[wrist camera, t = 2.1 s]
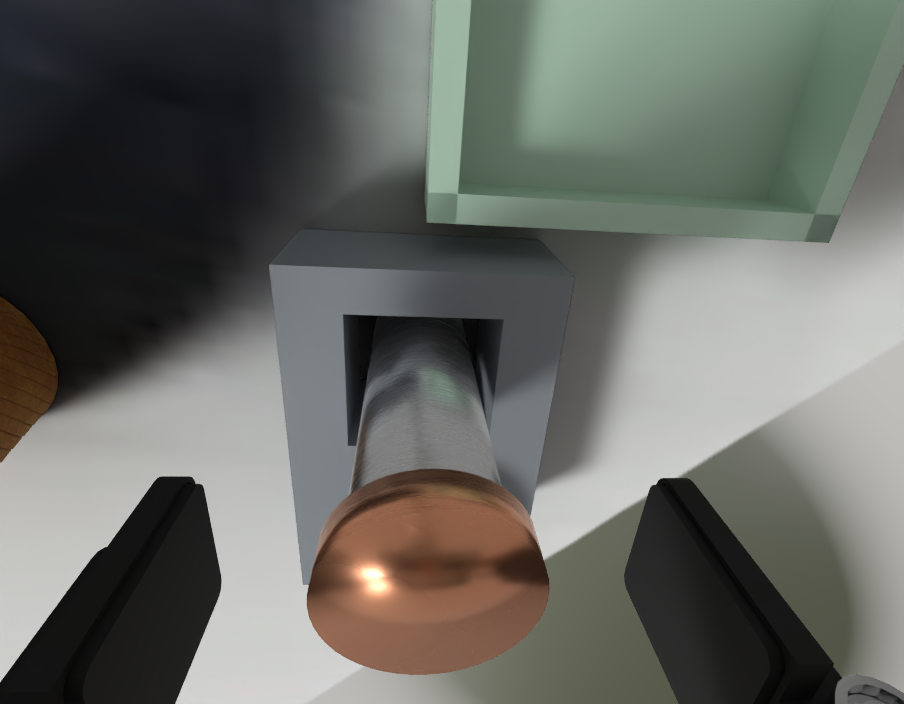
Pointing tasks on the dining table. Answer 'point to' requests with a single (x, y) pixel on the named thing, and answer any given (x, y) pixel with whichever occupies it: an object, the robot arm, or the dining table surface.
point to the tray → (656, 113)
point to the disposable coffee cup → (22, 376)
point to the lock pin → (425, 519)
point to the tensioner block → (415, 295)
